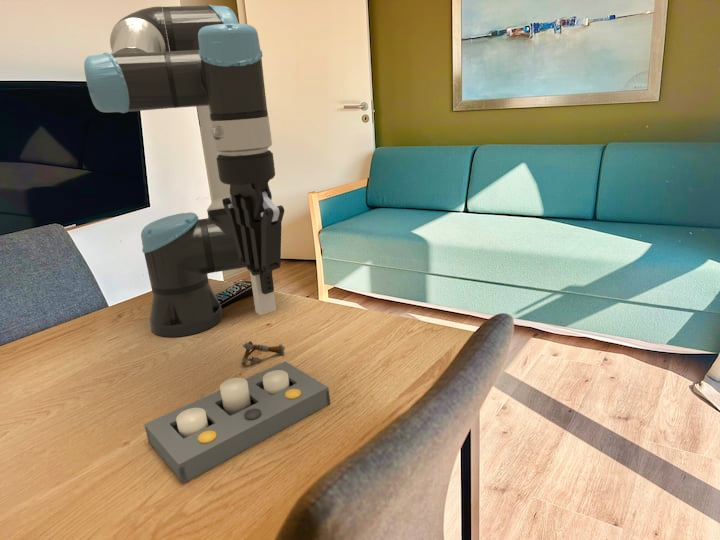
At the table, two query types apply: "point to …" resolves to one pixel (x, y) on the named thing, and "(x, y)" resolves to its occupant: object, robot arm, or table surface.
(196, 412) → the button
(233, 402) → the button
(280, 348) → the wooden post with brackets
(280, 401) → the console
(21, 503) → the table surface
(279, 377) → the button
